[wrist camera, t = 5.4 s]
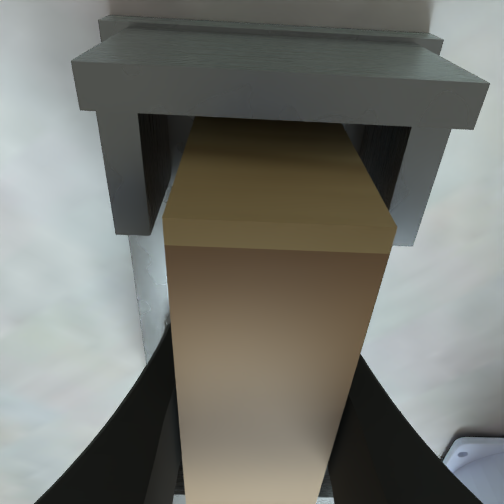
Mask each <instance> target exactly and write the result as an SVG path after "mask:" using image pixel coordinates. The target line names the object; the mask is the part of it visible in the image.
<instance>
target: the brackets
mask: <svg viewBox="0 0 504 504" xmlns="http://www.w3.org/2000/svg"><path fill="white" fill-rule="evenodd" d="M98 22H99V29H100V36H101V43H100V44H98V45H97V46H95V47H93V48H92V49H90V50H88V51H87V52H85V53H83V54H82V55H80V56H78V57H77V58H75V59H73V60H72V61H71V64H72V70H73V75H74V80H75V86H76V91H77V97H78V102H79V108H80V110H85V111H96V115H97V121H98V127H99V133H100V140H101V146H102V152H103V158H104V165H105V171H106V177H107V183H108V190H109V196H110V202H111V208H112V214H113V221H114V227H115V233H116V235H128V236H129V243H130V250H131V258H132V265H133V272H134V279H135V286H136V293H137V300H138V307H139V315H140V322H141V329H142V336H143V343H144V350H145V357H146V364H147V363H148V362H149V360H150V358H151V356H152V355H153V353H154V351H155V349H156V348H157V346H158V344H159V342H160V340H161V338H162V336H163V334H164V332H165V330H166V327H167V325H168V324H170V323H171V319H170V308H169V296H168V284H167V272H166V260H165V248H164V236H163V224H162V216H163V213H164V210H165V207H166V204H167V201H168V198H169V195H170V192H171V189H172V186H173V183H174V180H175V177H176V173H177V170H178V167H179V164H180V161H181V158H182V155H183V152H184V149H185V146H186V143H187V140H188V137H189V134H190V131H191V128H192V125H193V122H194V118H195V116H206V117H226V118H246V119H266V120H286V121H307V122H327V123H342V125H343V127H344V129H345V131H346V133H347V135H348V136H349V138H350V140H351V142H352V144H353V146H354V148H355V149H356V151H357V153H358V155H359V157H360V159H361V161H362V162H363V164H364V166H365V168H366V170H367V172H368V174H369V175H370V177H371V179H372V181H373V183H374V185H375V187H376V188H377V190H378V192H379V194H380V196H381V198H382V200H383V201H384V203H385V205H386V207H387V209H388V211H389V213H390V214H391V216H392V218H393V220H394V222H395V224H396V226H397V227H398V228H397V231H396V234H395V238H394V241H393V245H392V246H413V244H414V241H415V238H416V235H417V232H418V229H419V226H420V223H421V220H422V217H423V214H424V211H425V208H426V205H427V202H428V199H429V196H430V193H431V189H432V186H433V183H434V180H435V177H436V174H437V171H438V168H439V165H440V162H441V159H442V156H443V153H444V150H445V147H446V144H447V141H448V138H449V135H450V132H451V129H468V130H474V127H475V124H476V121H477V118H478V116H479V113H480V110H481V107H482V105H483V102H484V99H485V96H486V93H487V91H488V88H489V85H490V83H489V82H487V81H485V80H483V79H481V78H479V77H478V76H476V75H474V74H472V73H470V72H468V71H466V70H465V69H463V68H461V67H459V66H457V65H455V64H453V63H452V62H450V61H448V60H446V59H444V58H442V57H440V56H439V55H440V51H441V48H442V44H443V41H444V40H443V39H441V38H439V37H437V36H434V35H432V34H430V33H414V32H396V31H379V30H361V29H344V28H326V27H309V26H291V25H274V24H256V23H239V22H221V21H204V20H186V19H169V18H152V17H134V16H117V15H109V16H106V17H104V18H102V19H100V20H98ZM173 504H186V498H185V486H184V474H183V463H182V456H181V461H180V466H179V471H178V476H177V481H176V486H175V492H174V498H173ZM316 504H334V498H333V492H332V486H331V481H330V476H329V471H328V466H327V468H326V471H325V475H324V478H323V481H322V485H321V488H320V491H319V495H318V498H317V502H316Z"/></svg>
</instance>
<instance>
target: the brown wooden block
mask: <svg viewBox="0 0 504 504" xmlns="http://www.w3.org/2000/svg"><path fill="white" fill-rule="evenodd" d="M162 224H163V236H164V248H165V260H166V272H167V284H168V296H169V308H170V319H171V331H172V343H173V355H174V367H175V379H176V391H177V403H178V415H179V427H180V439H181V451H182V463H183V474H184V486H185V498H186V504H316V502H317V498H318V495H319V491H320V488H321V485H322V481H323V478H324V475H325V471H326V468H327V464H328V461H329V458H330V454H331V451H332V448H333V444H334V441H335V437H336V434H337V431H338V427H339V424H340V420H341V417H342V414H343V410H344V407H345V404H346V400H347V397H348V393H349V390H350V387H351V383H352V380H353V376H354V373H355V370H356V366H357V363H358V360H359V356H360V353H361V349H362V346H363V343H364V339H365V336H366V333H367V329H368V326H369V322H370V319H371V316H372V312H373V309H374V305H375V302H376V299H377V295H378V292H379V289H380V285H381V282H382V278H383V275H384V272H385V268H386V265H387V262H388V258H389V255H390V251H391V248H392V245H393V241H394V238H395V234H396V231H397V228H398V227H397V226H396V224H395V222H394V220H393V218H392V216H391V214H390V213H389V211H388V209H387V207H386V205H385V203H384V201H383V200H382V198H381V196H380V194H379V192H378V190H377V188H376V187H375V185H374V183H373V181H372V179H371V177H370V175H369V174H368V172H367V170H366V168H365V166H364V164H363V162H362V161H361V159H360V157H359V155H358V153H357V151H356V149H355V148H354V146H353V144H352V142H351V140H350V138H349V136H348V135H347V133H346V131H345V129H344V127H343V125H342V123H327V122H307V121H286V120H266V119H246V118H226V117H206V116H195V118H194V122H193V125H192V128H191V131H190V134H189V137H188V140H187V143H186V146H185V149H184V152H183V155H182V158H181V161H180V164H179V167H178V170H177V173H176V177H175V180H174V183H173V186H172V189H171V192H170V195H169V198H168V201H167V204H166V207H165V210H164V213H163V216H162Z"/></svg>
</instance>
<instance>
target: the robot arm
mask: <svg viewBox="0 0 504 504" xmlns="http://www.w3.org/2000/svg"><path fill="white" fill-rule="evenodd" d="M181 456H182V451H181V439H180V427H179V415H178V403H177V391H176V379H175V367H174V355H173V343H172V331H171V323H170V324H168V325H167V327H166V330H165V332H164V334H163V336H162V338H161V340H160V342H159V344H158V346H157V348H156V349H155V351H154V353H153V355H152V356H151V358H150V360H149V362H148V363H147V365H146V367H145V368H144V370H143V371H142V373H141V374H140V376H139V378H138V379H137V381H136V382H135V384H134V386H133V387H132V389H131V390H130V391H129V393H128V394H127V396H126V397H125V398H124V400H123V401H122V403H121V404H120V406H119V407H118V408H117V410H116V411H115V413H114V414H113V415H112V417H111V418H110V419H109V420H108V422H107V423H106V424H105V426H104V427H103V428H102V429H101V431H100V432H99V433H98V434H97V436H96V437H95V438H94V439H93V441H92V442H91V443H90V444H89V445H88V447H87V448H86V449H85V450H84V451H83V452H82V453H81V455H80V456H79V457H78V458H77V459H76V460H75V461H74V462H73V464H72V465H71V466H70V467H69V468H68V469H67V470H66V471H65V473H64V474H63V475H62V476H61V477H60V478H59V479H58V480H57V481H56V482H55V483H54V484H53V485H52V486H51V487H50V488H49V489H48V490H47V491H46V492H45V493H44V494H43V495H42V496H41V497H40V498H39V499H38V500H37V501H36V502H35V503H34V504H173V498H174V492H175V486H176V481H177V476H178V471H179V466H180V461H181ZM327 466H328V471H329V476H330V481H331V486H332V492H333V498H334V504H504V438H486V437H462V438H458V439H457V440H455V442H454V443H453V445H452V446H451V448H450V450H449V452H448V453H447V455H446V457H445V458H444V460H443V462H442V461H441V460H440V459H439V458H438V457H437V456H436V454H435V453H434V452H433V451H432V450H431V449H430V448H429V446H428V445H427V444H426V443H425V442H424V441H423V440H422V438H421V437H420V436H419V435H418V434H417V432H416V431H415V430H414V429H413V427H412V426H411V425H410V424H409V422H408V421H407V420H406V418H405V417H404V416H403V415H402V413H401V412H400V411H399V409H398V408H397V407H396V405H395V404H394V403H393V401H392V400H391V399H390V397H389V396H388V394H387V393H386V391H385V390H384V389H383V387H382V386H381V384H380V383H379V381H378V380H377V379H376V377H375V376H374V374H373V373H372V371H371V370H370V368H369V366H368V365H367V363H366V362H365V360H364V359H363V357H362V355H361V354H360V356H359V360H358V363H357V366H356V370H355V373H354V376H353V380H352V383H351V387H350V390H349V393H348V397H347V400H346V404H345V407H344V410H343V414H342V417H341V420H340V424H339V427H338V431H337V434H336V437H335V441H334V444H333V448H332V451H331V454H330V458H329V461H328V464H327Z"/></svg>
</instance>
